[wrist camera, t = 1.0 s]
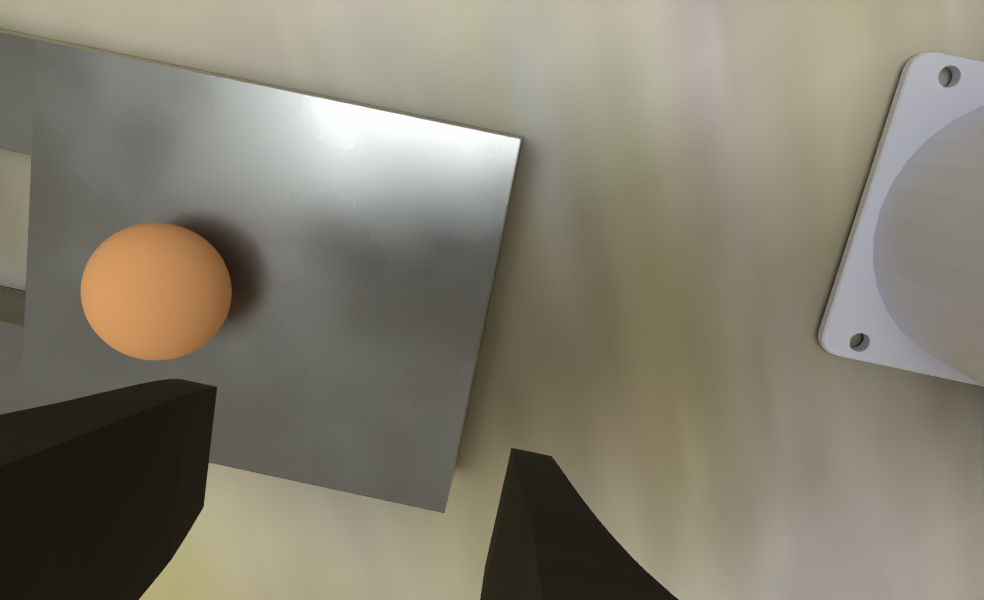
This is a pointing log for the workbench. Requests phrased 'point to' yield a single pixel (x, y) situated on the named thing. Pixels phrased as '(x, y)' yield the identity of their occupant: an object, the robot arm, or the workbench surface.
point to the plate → (264, 258)
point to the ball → (156, 291)
